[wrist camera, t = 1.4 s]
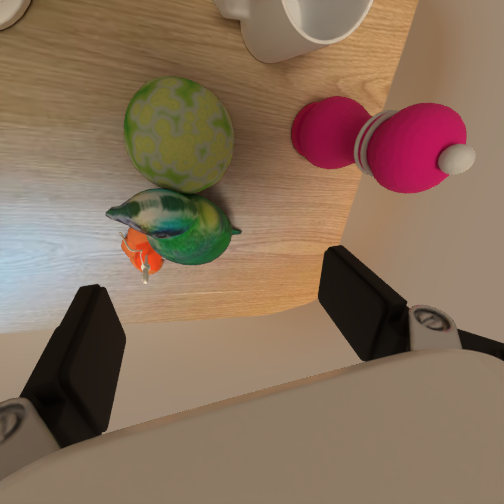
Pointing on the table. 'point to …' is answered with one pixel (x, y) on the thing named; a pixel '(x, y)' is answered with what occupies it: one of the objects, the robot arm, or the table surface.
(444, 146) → the pepper mill
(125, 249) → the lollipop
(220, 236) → the toy
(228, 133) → the decorative ball
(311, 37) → the mug
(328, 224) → the table surface
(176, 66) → the table surface
